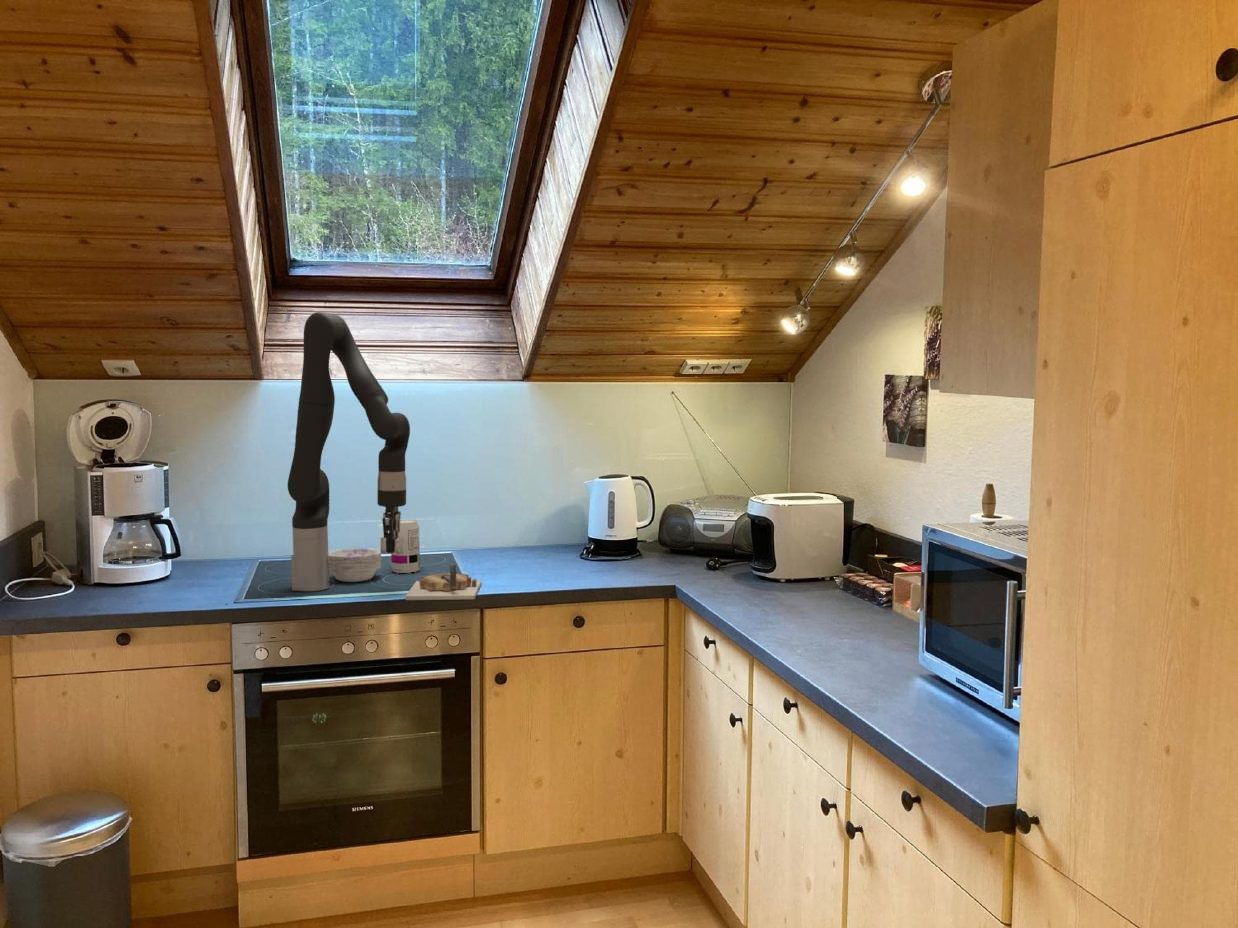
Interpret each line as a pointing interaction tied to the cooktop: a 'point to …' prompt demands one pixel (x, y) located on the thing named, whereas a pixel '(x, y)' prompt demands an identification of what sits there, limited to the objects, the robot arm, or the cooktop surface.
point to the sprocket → (445, 581)
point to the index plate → (443, 592)
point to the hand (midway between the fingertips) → (391, 551)
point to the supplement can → (407, 548)
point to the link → (397, 545)
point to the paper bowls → (354, 564)
